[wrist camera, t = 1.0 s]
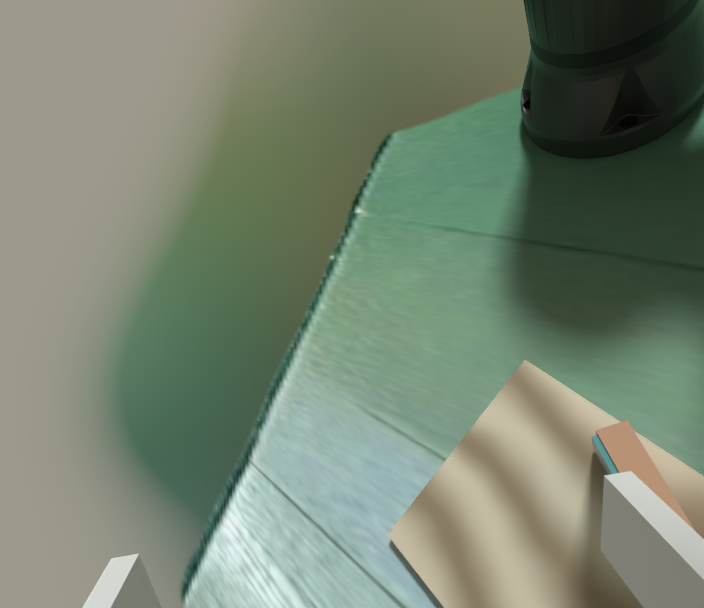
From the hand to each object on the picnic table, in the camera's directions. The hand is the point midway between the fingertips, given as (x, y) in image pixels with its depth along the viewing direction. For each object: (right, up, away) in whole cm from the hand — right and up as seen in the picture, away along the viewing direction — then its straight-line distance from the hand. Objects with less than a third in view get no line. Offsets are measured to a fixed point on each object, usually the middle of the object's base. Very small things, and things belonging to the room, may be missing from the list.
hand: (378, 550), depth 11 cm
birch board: (+14, -10, +16) cm, 24 cm away
